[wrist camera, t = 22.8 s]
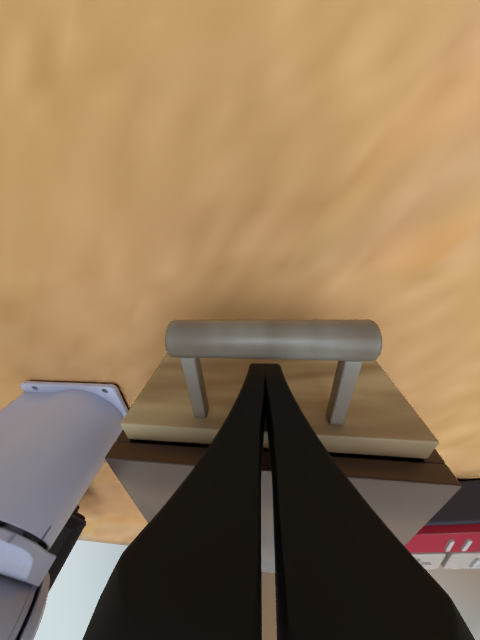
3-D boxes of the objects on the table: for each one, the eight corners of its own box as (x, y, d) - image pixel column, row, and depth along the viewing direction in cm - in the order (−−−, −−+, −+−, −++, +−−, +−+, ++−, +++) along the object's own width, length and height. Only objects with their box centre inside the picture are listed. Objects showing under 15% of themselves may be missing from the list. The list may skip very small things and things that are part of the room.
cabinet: (170, 353, 16) (103, 458, 9) (368, 357, 14) (463, 486, 7) (198, 457, 22) (172, 559, 16) (333, 467, 21) (366, 585, 14)
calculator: (499, 573, 21) (348, 574, 23) (461, 518, 25) (334, 523, 27) (544, 532, 16) (347, 538, 18) (487, 471, 20) (330, 482, 22)
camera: (57, 497, 36) (114, 503, 30) (-26, 607, 26) (35, 643, 21) (4, 467, 31) (59, 467, 26) (-119, 585, 22) (-72, 624, 16)
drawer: (152, 281, 12) (71, 333, 7) (392, 276, 10) (516, 335, 5) (198, 454, 21) (177, 533, 15) (333, 464, 19) (359, 555, 14)
